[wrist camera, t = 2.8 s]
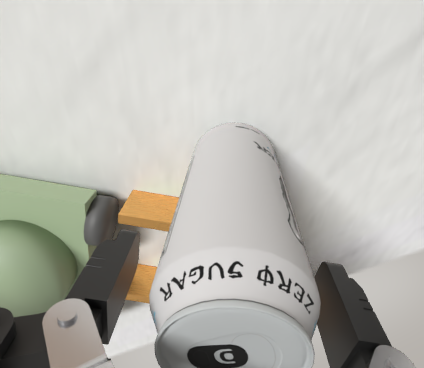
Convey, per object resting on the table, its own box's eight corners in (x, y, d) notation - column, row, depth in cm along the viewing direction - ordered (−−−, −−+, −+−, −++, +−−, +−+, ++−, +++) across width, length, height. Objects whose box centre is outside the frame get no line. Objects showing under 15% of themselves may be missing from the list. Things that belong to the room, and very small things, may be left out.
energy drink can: (277, 185, 23) (337, 406, 10) (203, 196, 24) (166, 410, 11) (268, 110, 20) (335, 279, 7) (185, 126, 21) (103, 301, 8)
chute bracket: (132, 189, 24) (118, 214, 21) (242, 208, 24) (243, 235, 21) (131, 268, 28) (118, 298, 25) (222, 283, 28) (221, 315, 25)
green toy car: (-34, 157, 23) (-119, 200, 18) (118, 183, 24) (81, 233, 18) (2, 277, 30) (-52, 336, 25) (119, 296, 30) (93, 358, 25)
